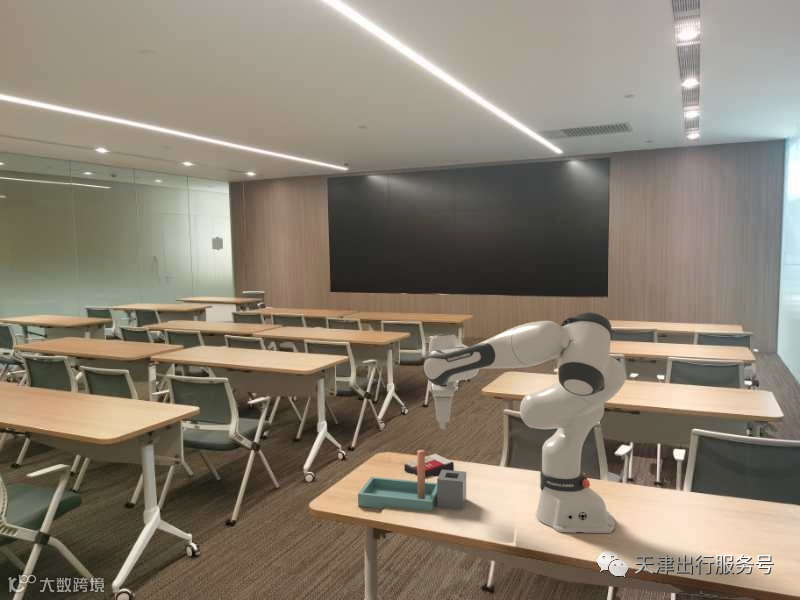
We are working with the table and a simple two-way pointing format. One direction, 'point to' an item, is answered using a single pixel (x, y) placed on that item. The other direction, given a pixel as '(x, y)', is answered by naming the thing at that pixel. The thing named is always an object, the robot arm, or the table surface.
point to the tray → (396, 494)
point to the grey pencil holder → (451, 489)
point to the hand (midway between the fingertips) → (442, 427)
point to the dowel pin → (421, 473)
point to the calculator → (431, 465)
